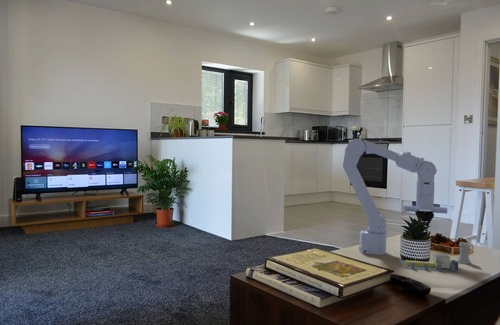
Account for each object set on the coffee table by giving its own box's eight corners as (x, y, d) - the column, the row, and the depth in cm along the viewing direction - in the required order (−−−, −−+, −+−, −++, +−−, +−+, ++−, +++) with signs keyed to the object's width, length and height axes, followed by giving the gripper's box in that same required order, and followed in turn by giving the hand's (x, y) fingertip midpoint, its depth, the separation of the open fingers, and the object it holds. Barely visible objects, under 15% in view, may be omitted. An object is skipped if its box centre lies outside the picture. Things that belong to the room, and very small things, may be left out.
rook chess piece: (469, 264, 128) (470, 241, 128) (472, 268, 124) (473, 244, 124) (454, 263, 130) (455, 240, 129) (457, 266, 125) (458, 243, 125)
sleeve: (436, 267, 119) (436, 256, 119) (432, 263, 123) (432, 252, 123) (449, 268, 118) (450, 256, 118) (445, 264, 122) (445, 253, 122)
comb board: (404, 272, 118) (404, 261, 118) (397, 263, 128) (398, 253, 128) (462, 276, 115) (462, 265, 115) (450, 267, 125) (451, 257, 125)
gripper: (406, 195, 130) (405, 233, 130) (451, 196, 127) (449, 236, 127) (401, 192, 137) (400, 229, 137) (444, 194, 134) (442, 231, 134)
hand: (423, 232), depth 133 cm, fingers closed
